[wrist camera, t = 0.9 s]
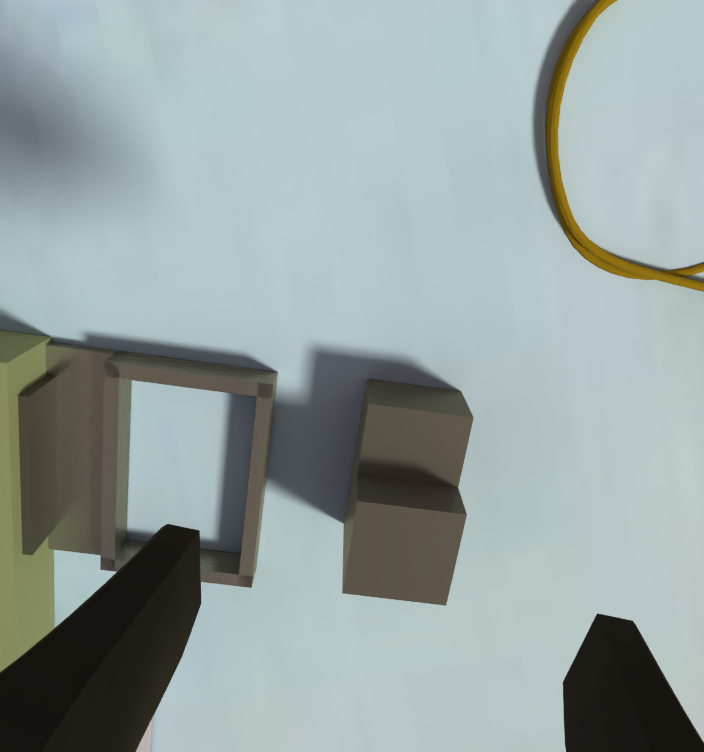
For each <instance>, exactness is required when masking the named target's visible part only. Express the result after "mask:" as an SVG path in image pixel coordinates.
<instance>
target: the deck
mask: <svg viewBox="0 0 704 752" xmlns="http://www.w3.org/2000/svg"><path fill="white" fill-rule="evenodd" d="M50 342H51V337H47V336H39V335H32V334H25V333H17V332H10V331H2V330H0V672H1V671H2V670H4V669H5V668H6V667H8V666H9V665H10V664H11V663H13V662H14V661H15V660H17V659H18V658H19V657H20V656H22V655H23V654H24V653H25V652H27V651H28V650H29V649H30V648H31V647H33V646H34V645H35V644H36V643H37V642H39V641H40V640H41V639H42V638H43V637H45V636H46V635H47V634H48V633H49V632H51V631H52V630H53V629H54V556H53V549H48V536H49V534H50V533H51V532H52V531H53V529H54V528H55V527H56V526H57V446H56V377H53V376H46V345H47V344H48V343H50Z"/></svg>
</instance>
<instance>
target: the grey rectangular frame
mask: <svg viewBox="0 0 704 752" xmlns="http://www.w3.org/2000/svg"><path fill="white" fill-rule="evenodd" d="M277 375H278V372H271V371H264V370H257V369H249V368H242V367H234V366H227V365H220V364H212V363H205V362H197V361H190V360H183V359H175V358H168V357H160V356H153V355H145V354H138V353H131V352H123V351H116V350H108V349H101V348H94V347H86V346H79V345H71V344H64V343H57V342H50V343H48V344H47V345H46V376H53V377H56V446H57V526H56V527H55V528H54V529H53V531H52V532H51V533H50V534H49V536H48V549H55V550H63V551H71V552H80V553H88V554H96V555H101V570H108V571H117V572H118V571H119V570H120V569H121V568H122V567H123V566H124V565H125V564H126V563H127V562H128V561H129V560H130V559H131V558H132V557H133V556H134V555H135V554H136V553H137V552H138V551H139V550H140V549H141V548H142V547H143V546H144V545H145V544H146V543H147V542H138V541H130V540H126V536H127V505H128V474H129V443H130V412H131V381H132V380H136V381H143V382H151V383H158V384H166V385H173V386H181V387H188V388H196V389H203V390H211V391H218V392H226V393H233V394H241V395H248V396H256V397H257V400H256V410H255V420H254V430H253V440H252V450H251V460H250V470H249V480H248V489H247V499H246V509H245V519H244V529H243V539H242V549H241V554H237V553H228V552H220V551H212V550H204V549H200V577H201V582H208V583H216V584H225V585H233V586H241V587H250V588H251V587H252V583H253V579H254V575H255V570H256V565H257V556H258V547H259V538H260V529H261V520H262V511H263V502H264V493H265V484H266V475H267V466H268V457H269V448H270V438H271V429H272V420H273V411H274V402H275V393H276V384H277Z"/></svg>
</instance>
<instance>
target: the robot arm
mask: <svg viewBox="0 0 704 752" xmlns="http://www.w3.org/2000/svg"><path fill="white" fill-rule="evenodd" d="M200 605H201V577H200V535H199V530H194V529H189V528H184V527H180V526H175V525H170V524H167V525H165V526H163V527H162V528H161V529H160V530H159V531H158V532H157V533H156V534H155V535H154V536H153V537H152V538H151V539H150V540H149V541H148V542H147V543H146V544H145V545H144V546H143V547H142V548H141V549H140V550H139V551H138V552H137V553H136V554H135V555H134V556H133V557H132V558H131V559H130V560H129V561H128V562H127V563H126V564H125V565H124V566H123V567H122V568H121V569H120V570H119V571H118V572H117V573H116V574H115V575H113V576H112V577H111V578H110V579H109V580H108V581H107V582H106V583H105V584H104V585H103V586H102V587H101V588H100V589H98V590H97V591H96V592H95V593H94V594H93V595H92V596H91V597H90V598H88V599H87V600H86V601H85V602H84V603H83V604H82V605H81V606H80V607H79V608H77V609H76V610H75V611H74V612H73V613H72V614H71V615H70V616H68V617H67V618H66V619H65V620H64V621H63V622H61V623H60V624H59V625H58V626H57V627H55V628H54V629H53V630H52V631H51V632H49V633H48V634H47V635H46V636H45V637H43V638H42V639H41V640H40V641H39V642H37V643H36V644H35V645H34V646H33V647H31V648H30V649H29V650H28V651H27V652H25V653H24V654H23V655H22V656H20V657H19V658H18V659H17V660H15V661H14V662H13V663H11V664H10V665H9V666H8V667H6V668H5V669H4V670H2V671H1V672H0V752H151V748H152V729H153V715H154V713H155V711H156V709H157V707H158V705H159V703H160V701H161V699H162V697H163V695H164V693H165V691H166V689H167V687H168V685H169V683H170V680H171V678H172V676H173V674H174V672H175V670H176V668H177V666H178V664H179V662H180V660H181V658H182V655H183V652H184V650H185V647H186V644H187V641H188V639H189V636H190V633H191V631H192V628H193V625H194V622H195V619H196V616H197V614H198V611H199V608H200ZM563 701H564V729H565V746H566V752H704V742H703V741H702V739H701V737H700V736H699V734H698V733H697V731H696V729H695V728H694V726H693V724H692V723H691V721H690V719H689V718H688V716H687V714H686V713H685V711H684V709H683V707H682V706H681V704H680V702H679V701H678V699H677V697H676V695H675V694H674V692H673V690H672V688H671V687H670V685H669V683H668V681H667V680H666V678H665V676H664V674H663V673H662V671H661V669H660V667H659V666H658V664H657V662H656V660H655V658H654V657H653V655H652V653H651V651H650V649H649V648H648V646H647V644H646V642H645V640H644V639H643V637H642V635H641V633H640V632H639V630H638V628H637V626H636V625H635V623H634V622H633V621H631V620H626V619H621V618H616V617H612V616H607V615H602V614H597V615H596V617H595V619H594V621H593V623H592V625H591V627H590V629H589V631H588V633H587V635H586V637H585V639H584V641H583V643H582V645H581V647H580V649H579V651H578V653H577V655H576V657H575V659H574V661H573V663H572V665H571V667H570V669H569V671H568V673H567V675H566V677H565V679H564V681H563Z"/></svg>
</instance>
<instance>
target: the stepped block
mask: <svg viewBox="0 0 704 752" xmlns="http://www.w3.org/2000/svg"><path fill="white" fill-rule="evenodd" d="M472 422H473V416H472V413H471V411H470V409H469V407H468V405H467V403H466V401H465V399H464V396H463V394H462V392H461V391H455V390H447V389H440V388H433V387H425V386H418V385H410V384H403V383H396V382H388V381H381V380H373V379H367V381H366V387H365V393H364V399H363V406H362V412H361V418H360V425H359V431H358V437H357V444H356V450H355V456H354V463H353V469H352V475H351V482H350V488H349V494H348V501H347V507H346V513H345V519H344V540H343V587H342V593H345V594H354V595H362V596H371V597H379V598H387V599H396V600H404V601H413V602H421V603H430V604H438V605H446V603H447V599H448V594H449V590H450V586H451V581H452V577H453V573H454V568H455V564H456V559H457V555H458V551H459V546H460V542H461V538H462V533H463V529H464V525H465V520H466V516H467V514H466V511H465V508H464V505H463V502H462V499H461V495H460V492H459V489H458V486H459V481H460V476H461V472H462V467H463V463H464V458H465V454H466V449H467V445H468V440H469V436H470V431H471V426H472Z"/></svg>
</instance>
